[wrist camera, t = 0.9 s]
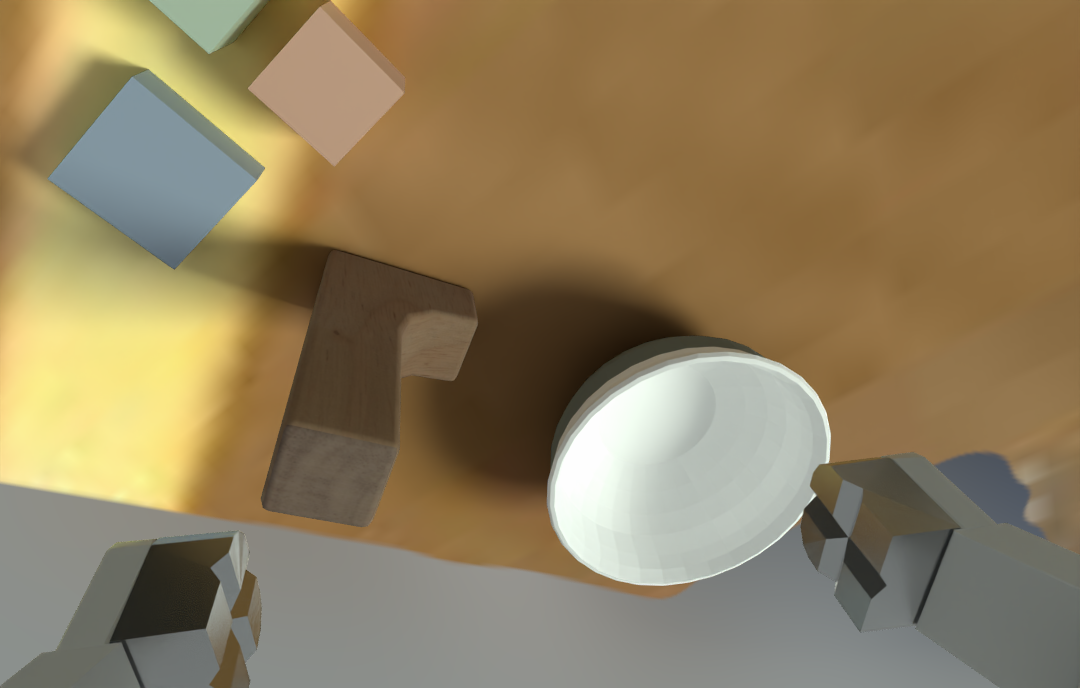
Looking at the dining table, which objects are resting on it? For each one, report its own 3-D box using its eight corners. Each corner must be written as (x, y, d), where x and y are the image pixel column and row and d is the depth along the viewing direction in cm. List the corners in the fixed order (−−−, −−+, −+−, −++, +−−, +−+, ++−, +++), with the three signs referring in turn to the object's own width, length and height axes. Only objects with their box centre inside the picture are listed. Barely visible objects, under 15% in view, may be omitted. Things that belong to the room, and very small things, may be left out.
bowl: (616, 249, 44) (656, 305, 37) (824, 353, 51) (891, 418, 44) (482, 465, 51) (494, 547, 43) (682, 531, 57) (720, 612, 50)
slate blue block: (148, 69, 35) (132, 76, 33) (265, 168, 38) (256, 180, 36) (67, 166, 36) (47, 179, 34) (186, 253, 40) (174, 269, 37)
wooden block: (474, 289, 44) (510, 471, 28) (451, 348, 45) (472, 550, 30) (331, 245, 41) (282, 422, 25) (312, 310, 43) (256, 513, 27)
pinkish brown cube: (330, 0, 35) (319, 6, 30) (405, 77, 37) (404, 93, 33) (266, 72, 36) (247, 88, 32) (342, 142, 38) (334, 166, 34)
